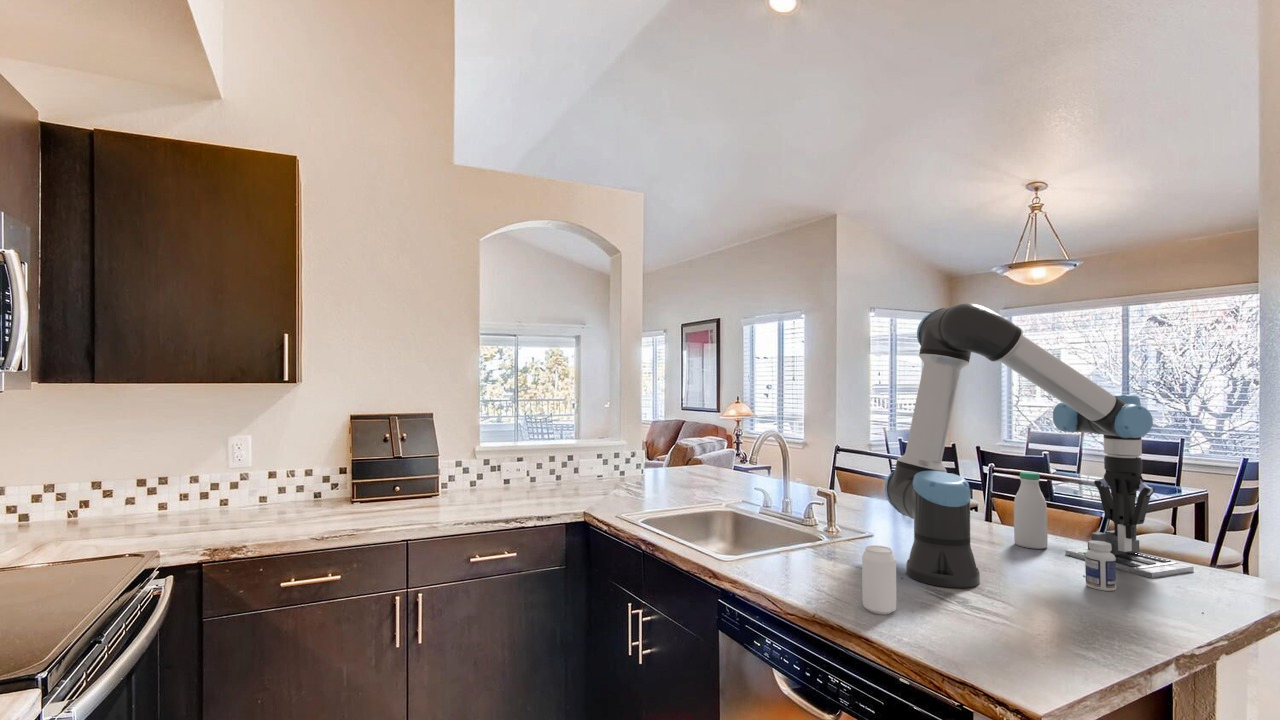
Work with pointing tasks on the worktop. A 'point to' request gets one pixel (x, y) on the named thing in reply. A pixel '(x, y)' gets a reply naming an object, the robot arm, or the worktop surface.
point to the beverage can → (879, 580)
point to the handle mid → (1113, 542)
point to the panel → (1141, 564)
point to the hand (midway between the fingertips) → (1124, 550)
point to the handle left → (1097, 537)
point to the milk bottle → (1030, 513)
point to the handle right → (1134, 546)
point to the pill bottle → (1100, 566)
